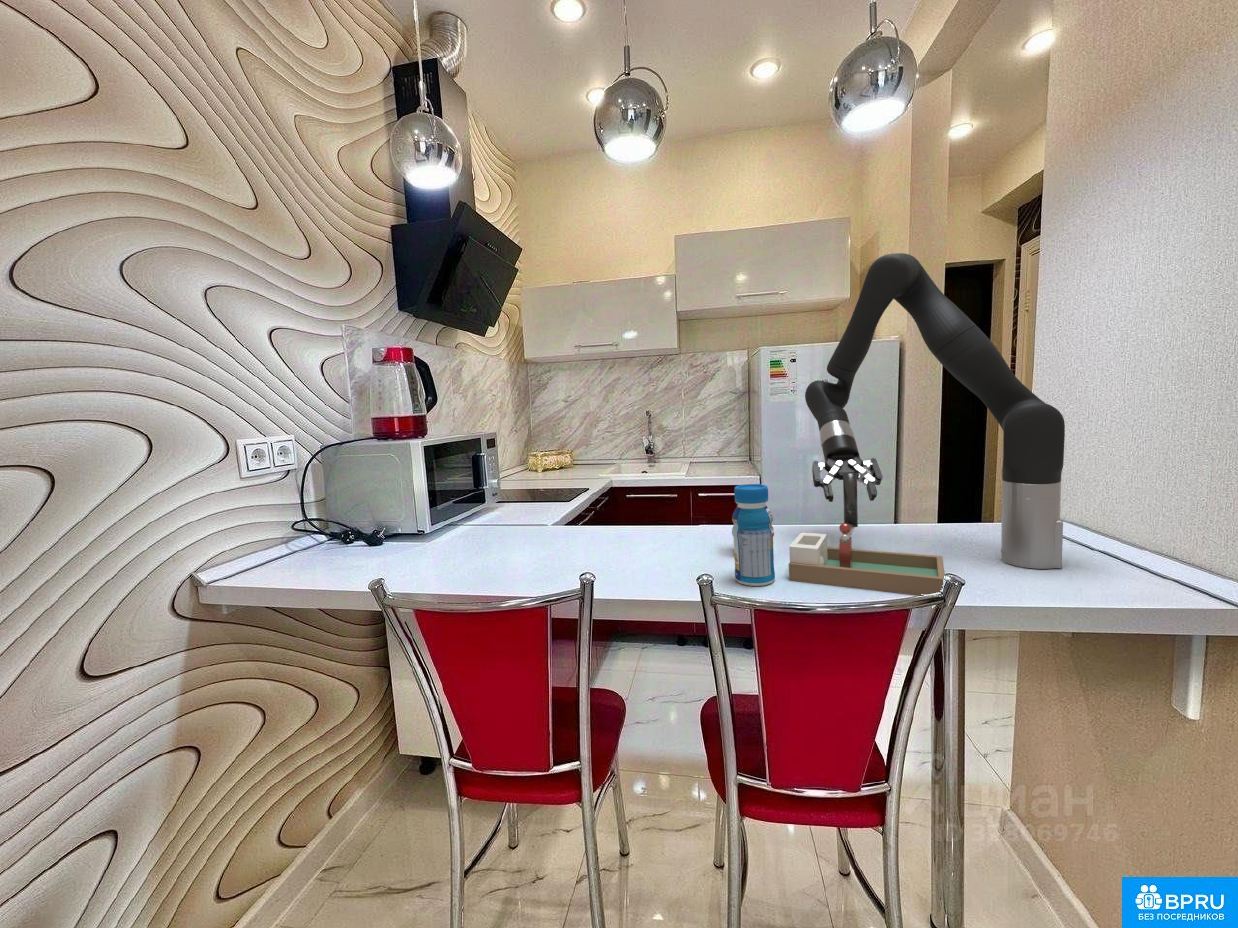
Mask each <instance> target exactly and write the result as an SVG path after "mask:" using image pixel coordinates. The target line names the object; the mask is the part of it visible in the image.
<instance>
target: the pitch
mask: <svg viewBox="0 0 1238 928" xmlns="http://www.w3.org/2000/svg"><path fill="white" fill-rule="evenodd" d="M788 548H789V563H788V580H789V581H793V582H801V583H810V584H811V583H812V584H818V585H819V584H820V585H827V586H837V587H846V588H855V589H863V590H870V591H871V590H872V591H880V592H890V593H897V594H905V595H912V596H921V594H931V593H936V592H939V591H940V590H941V588H942V585H943V577H944V574H945V575H946V573H945V572H946V571H945V565H944V559H943V558H944V557H943V556H942V555H931V554H921V553H907V552H906V553H905V552H897V551H896V552H894V551H893V552H892V551H882V550H870V549H869V550H866V549H858V548H857V549H855V548H852V568H846V567H840V557H839V547H832V546H831V547H830V546H828V533H816V532H800V533H799V535H798V536H797V537H796V538H795V539H794V541H793V542H792V543H791V544H790V545H789V547H788ZM820 555H821V556H822V557H823V559H824V565H820Z"/></svg>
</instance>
